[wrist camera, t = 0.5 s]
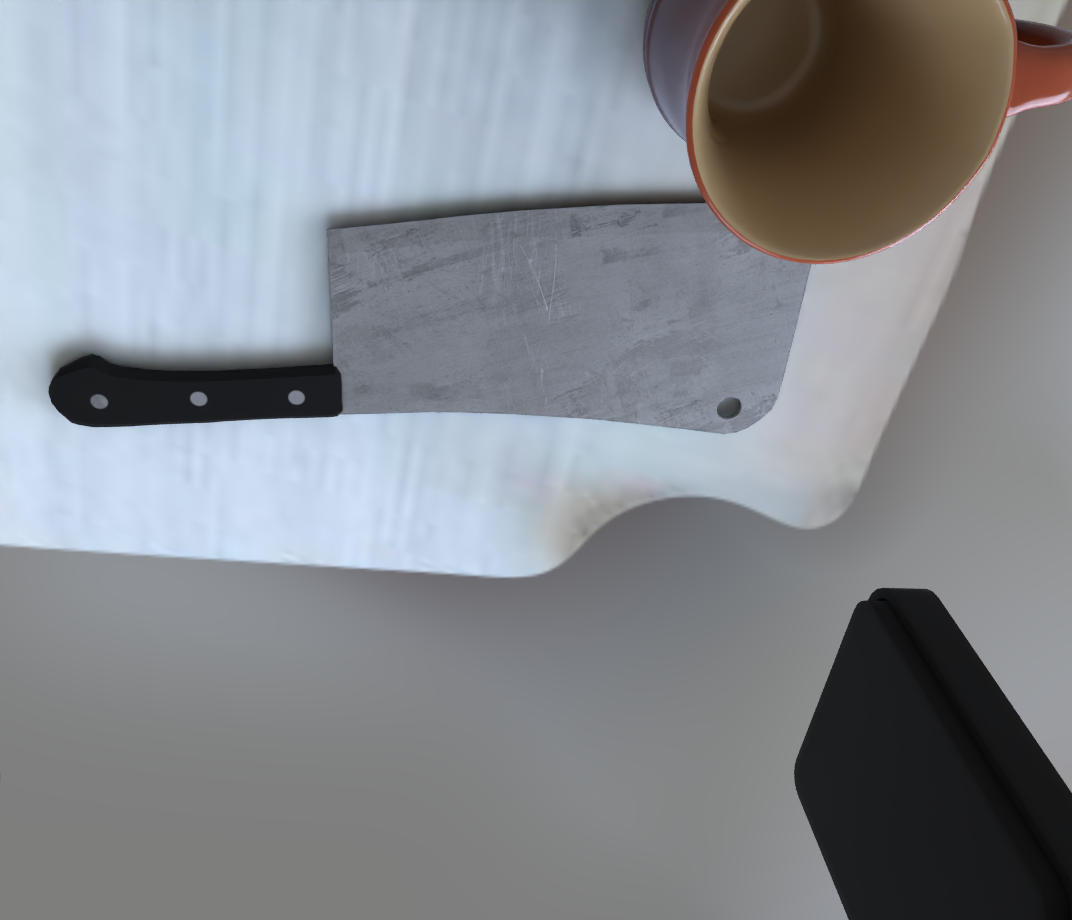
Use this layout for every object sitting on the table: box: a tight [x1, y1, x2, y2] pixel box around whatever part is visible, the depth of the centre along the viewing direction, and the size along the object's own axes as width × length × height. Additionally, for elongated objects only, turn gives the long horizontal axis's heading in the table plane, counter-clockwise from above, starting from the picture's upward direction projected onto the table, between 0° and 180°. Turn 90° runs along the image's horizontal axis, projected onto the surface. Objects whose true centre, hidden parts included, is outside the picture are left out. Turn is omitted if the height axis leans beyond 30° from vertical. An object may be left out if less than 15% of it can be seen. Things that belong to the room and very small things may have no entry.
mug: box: [643, 0, 1072, 264], centre depth 31 cm, size 12×9×10 cm
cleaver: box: [49, 203, 811, 434], centre depth 39 cm, size 29×1×10 cm
